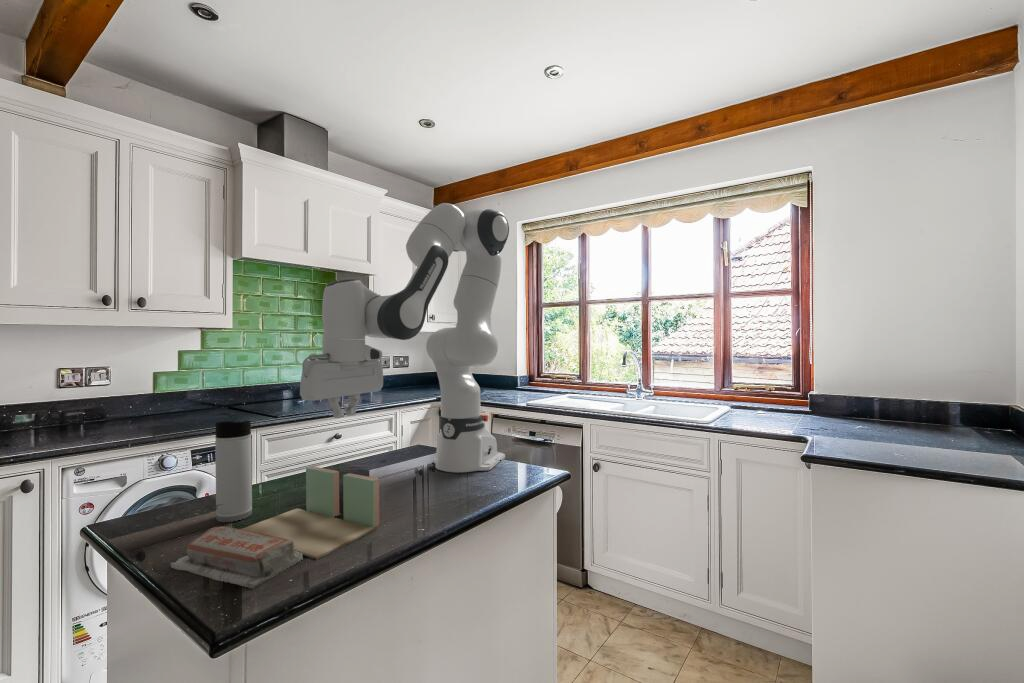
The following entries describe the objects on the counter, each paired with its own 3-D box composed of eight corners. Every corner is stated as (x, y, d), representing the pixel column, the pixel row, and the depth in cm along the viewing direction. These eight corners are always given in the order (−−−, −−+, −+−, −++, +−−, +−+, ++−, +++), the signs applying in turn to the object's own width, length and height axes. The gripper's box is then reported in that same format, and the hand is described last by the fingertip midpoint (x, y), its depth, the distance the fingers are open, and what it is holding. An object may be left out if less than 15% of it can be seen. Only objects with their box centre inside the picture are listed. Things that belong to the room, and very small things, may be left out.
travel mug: (209, 524, 91) (208, 422, 90) (224, 512, 97) (223, 416, 97) (243, 522, 92) (242, 421, 91) (256, 510, 98) (255, 415, 98)
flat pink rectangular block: (312, 508, 99) (312, 466, 99) (339, 514, 95) (338, 471, 95) (306, 510, 98) (305, 468, 98) (333, 517, 94) (332, 473, 94)
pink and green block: (349, 517, 94) (349, 473, 94) (379, 524, 90) (379, 478, 90) (343, 520, 93) (343, 475, 92) (373, 527, 89) (373, 481, 89)
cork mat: (297, 509, 98) (297, 508, 98) (374, 530, 88) (374, 527, 88) (235, 533, 87) (235, 531, 87) (316, 559, 76) (316, 556, 76)
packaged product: (305, 532, 76) (251, 559, 67) (305, 561, 76) (252, 593, 67) (227, 517, 83) (169, 540, 74) (227, 544, 83) (169, 570, 74)
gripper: (313, 355, 91) (314, 425, 91) (387, 351, 109) (388, 410, 109) (292, 354, 94) (293, 423, 94) (367, 351, 112) (368, 408, 112)
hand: (344, 416), depth 102 cm, fingers closed
